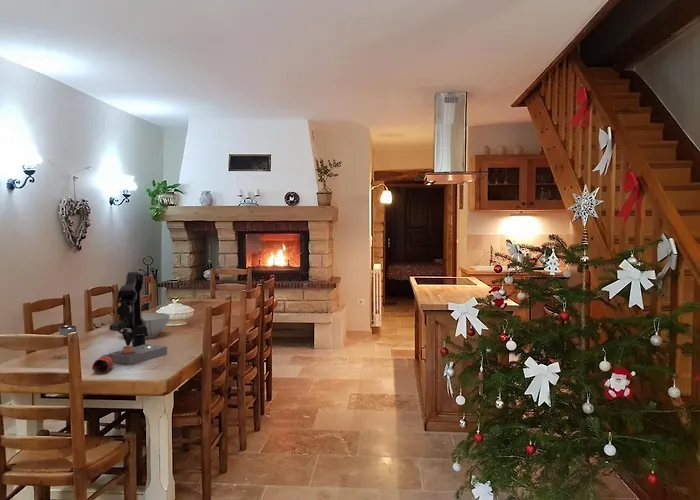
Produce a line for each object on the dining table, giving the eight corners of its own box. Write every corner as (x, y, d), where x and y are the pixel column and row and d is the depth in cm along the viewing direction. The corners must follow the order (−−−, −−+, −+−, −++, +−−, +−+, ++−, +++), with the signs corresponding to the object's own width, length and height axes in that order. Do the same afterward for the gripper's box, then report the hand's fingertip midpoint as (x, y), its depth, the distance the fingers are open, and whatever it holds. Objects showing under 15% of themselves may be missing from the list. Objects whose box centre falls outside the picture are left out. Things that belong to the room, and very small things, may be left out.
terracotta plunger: (121, 355, 259) (121, 347, 259) (128, 353, 263) (128, 345, 263) (127, 356, 257) (127, 348, 257) (135, 354, 261) (134, 346, 261)
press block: (108, 361, 258) (108, 353, 258) (146, 351, 280) (146, 343, 280) (129, 365, 252) (129, 356, 252) (167, 354, 274) (166, 346, 274)
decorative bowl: (138, 343, 300) (137, 321, 299) (112, 337, 316) (112, 316, 316) (179, 335, 321) (178, 315, 321) (153, 330, 338) (153, 311, 337)
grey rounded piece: (142, 354, 271) (141, 346, 271) (148, 352, 275) (148, 345, 275) (148, 355, 269) (148, 347, 269) (155, 353, 273) (155, 345, 273)
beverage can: (115, 367, 249) (115, 353, 249) (108, 374, 237) (108, 359, 237) (99, 367, 248) (99, 353, 247) (91, 375, 236) (91, 360, 236)
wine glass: (80, 356, 270) (80, 326, 269) (65, 359, 263) (64, 329, 262) (71, 354, 274) (70, 325, 273) (56, 357, 267) (55, 327, 266)
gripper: (99, 314, 256) (100, 346, 257) (128, 317, 248) (129, 350, 249) (118, 311, 266) (119, 342, 267) (146, 313, 258) (147, 345, 259)
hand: (128, 345), depth 260 cm, fingers closed
